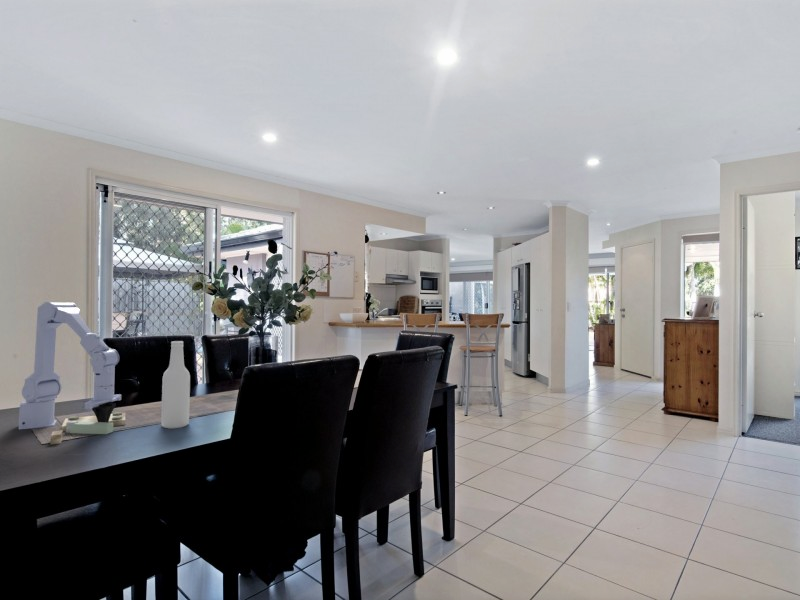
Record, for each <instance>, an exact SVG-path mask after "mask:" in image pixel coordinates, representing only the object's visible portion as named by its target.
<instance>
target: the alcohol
mask: <svg viewBox="0 0 800 600" xmlns="http://www.w3.org/2000/svg"><path fill="white" fill-rule="evenodd" d="M170 344H171V345H170V347H171V349H170V355H169V356H170V357H169V358H170V359H169V364H168V367H167V369H166V370H165V371H164V372H163V376H162V380H161V381H162V384H161V388H162V389H161V393H162V394H161V419H160V421H161V423H160V424H161V427H162V428H166V429H170V430H171V429H172V430H173V429H181V428H184V427H187V425H188V424H189V423H190V403H191V402H190V396H191V395H190V393H191V374H190V372H189V370H188V368H187V367H186V366H185V359H184V357H185V355H184V347H185V346H184V341H183V340H174V341H171V342H170Z"/></svg>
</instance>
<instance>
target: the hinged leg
mask: <svg viewBox="0 0 800 600" xmlns="http://www.w3.org/2000/svg"><path fill="white" fill-rule="evenodd" d="M113 432H114V426H113V423H110V422H78V421H70V422H67V423H66V431H65V433H66V434H83V435H85V434H87V435H88V434H89V435H108V434H110V433H113Z"/></svg>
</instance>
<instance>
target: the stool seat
mask: <svg viewBox="0 0 800 600" xmlns="http://www.w3.org/2000/svg"><path fill="white" fill-rule="evenodd" d="M70 421H78V422H98V421H97V417H96V415H88V416H69V417H68V418H67V417H65V419H64V421H63V423H62V425H61V428H60V430H53V431H52V433H51V434H50V443H49V444H50V445H51V446H52V445H58V444H60V445H61V443H62V441H63V433H64V432H66V423H67V422H70ZM109 422H110V423H113V427H116V426H117V427H118V426H124V425H126V422H127V421H126V412H122V411H120V412H119V411H117V412H112V413H111V415H110V418H109Z"/></svg>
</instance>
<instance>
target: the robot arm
mask: <svg viewBox="0 0 800 600" xmlns="http://www.w3.org/2000/svg"><path fill="white" fill-rule="evenodd" d="M36 315H37V316H36V329H35V330H36V331H35V332H36V333H35V348H34V349H35V351H34V365H33V367H34V368H33V372H32V374H30V375H29V376H27V377H26V378H25V379H24V385H23V387H22V389H21V395H22V398H24V400H25V401H21V402H20V404H19V412H18V430H26V429H35V428H36V429H37V428H44V427H45V428H46V427H54V426H55V425H56V423H57V421H58V420H57V419H55V411H56V410H55V407H56V405H55V404H56V401H55V400H56V399H57V398H58V395H60V393H61V391H62V384H61V380H60V378H61V376H60V375H58V374H57V373H56V372H55V358H56V357H55V356H56V355H55V353H56V340H57V339H56V338H57V337H56V336H57V328H59V327H60V326H61V325H62V324H67V325H68V327H70V329H72V331H73V332H74V333H76V335H77V336H78V337H79V338H80V340H79V341H80V345H81V347H82V348H83V349H84V351H85V352H86V353H87V354H88V355H89V357H90V358H91V359H89V362H90V365H91V367H92V372H93V373H94V379H93V382H94V383H93V399H91V400H89V401H87V402H85V403H84V410H91V411H92V412H93V413H94V416H96V417H97V421H98V422H109V418H110V415H111V414H113V411H114V410H115V408H116V405H117V404H116V402H115V401H121V400H122V394H120V393H119V394H117V393H116V394H115V380H116V379H115V373H116V372H115V371H116V370H115V369H116V368H115V367H116V366H117V365H118V363H119V362H120V354H119V352H118V350H116V349H114V348H111V347H109V346H108V345H107V344H106V343H105V342H104V340H103V339H102V337H101V335H100V334H98V333H95V332H94V333H93V332H92V331H91V330H90V328H89V327H88V326H87V324H86V322H85V321H84V319H83V318H82V316H81V309H80V308H79V307H78V306H77V304H76V303H75V302H71V301H69V302H59V301H58V302H55V301H54V302H53V301H45V302H43V303H42V304H41V305H40V306H38V307H37V314H36Z"/></svg>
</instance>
